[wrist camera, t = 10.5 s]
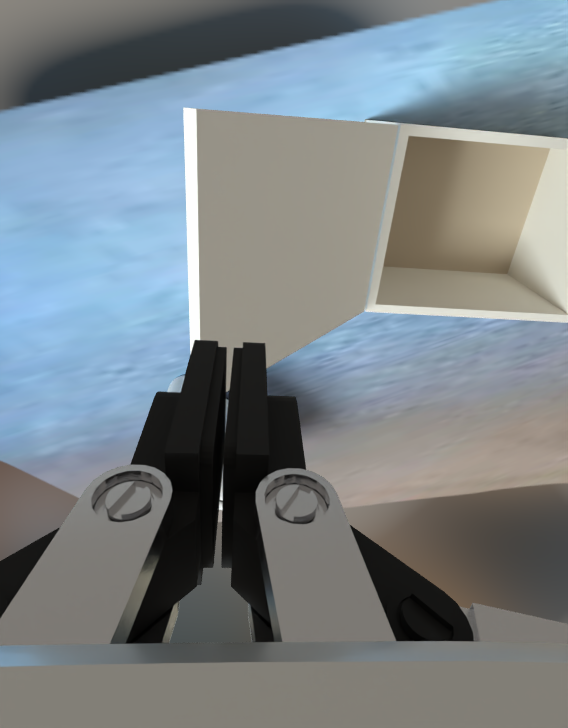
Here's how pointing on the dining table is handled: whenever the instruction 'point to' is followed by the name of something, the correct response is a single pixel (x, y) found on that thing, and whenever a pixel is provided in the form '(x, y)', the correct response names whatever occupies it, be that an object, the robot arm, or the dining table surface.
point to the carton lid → (280, 225)
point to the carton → (473, 226)
